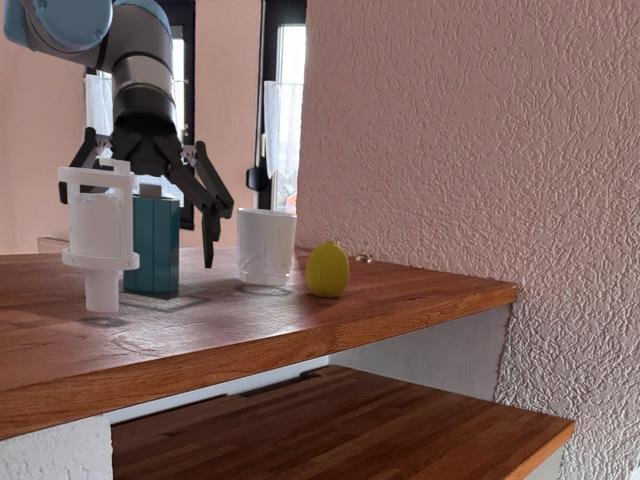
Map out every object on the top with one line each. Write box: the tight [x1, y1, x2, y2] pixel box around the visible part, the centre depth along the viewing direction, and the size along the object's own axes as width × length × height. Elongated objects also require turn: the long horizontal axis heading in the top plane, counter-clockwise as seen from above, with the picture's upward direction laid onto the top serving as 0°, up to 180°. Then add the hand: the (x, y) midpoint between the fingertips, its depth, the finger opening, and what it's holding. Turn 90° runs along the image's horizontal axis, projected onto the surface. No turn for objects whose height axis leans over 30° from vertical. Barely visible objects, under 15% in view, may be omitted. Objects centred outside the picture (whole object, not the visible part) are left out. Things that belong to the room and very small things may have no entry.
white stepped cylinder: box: [57, 157, 140, 314], centre depth 70 cm, size 7×7×15 cm
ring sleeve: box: [121, 192, 181, 293], centre depth 83 cm, size 6×6×10 cm
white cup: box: [236, 207, 298, 287], centre depth 98 cm, size 8×8×10 cm
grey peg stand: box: [118, 182, 209, 301], centre depth 83 cm, size 10×10×12 cm
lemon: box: [305, 239, 350, 299], centre depth 93 cm, size 6×6×8 cm
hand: (152, 257), depth 82 cm, fingers open, 12 cm apart
